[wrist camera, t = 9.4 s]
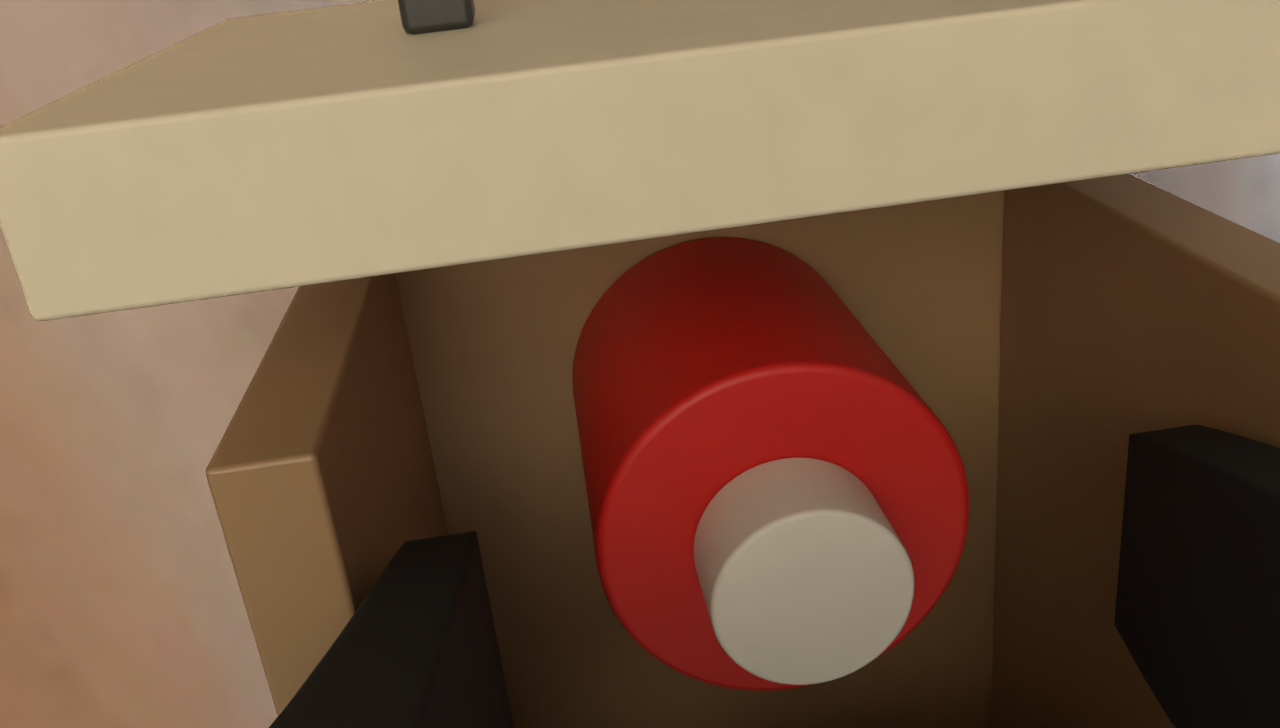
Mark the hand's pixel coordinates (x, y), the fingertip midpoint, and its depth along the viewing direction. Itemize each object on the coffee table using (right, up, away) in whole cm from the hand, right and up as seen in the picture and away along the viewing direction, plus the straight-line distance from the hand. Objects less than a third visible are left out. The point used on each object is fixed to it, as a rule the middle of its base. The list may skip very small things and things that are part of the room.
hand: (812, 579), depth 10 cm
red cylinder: (-1, +2, +4) cm, 5 cm away
